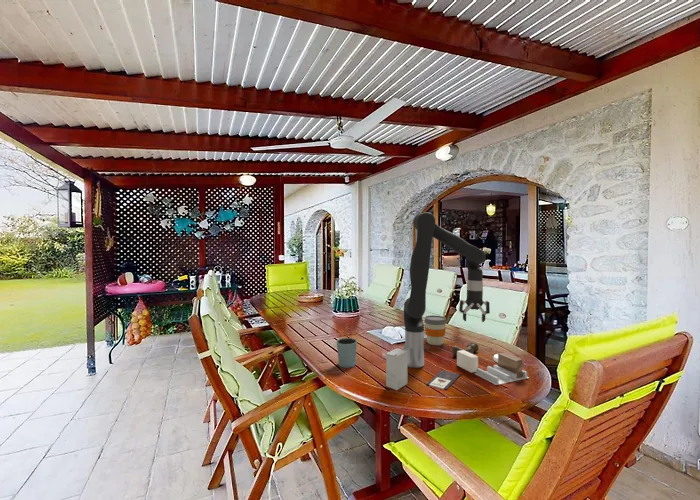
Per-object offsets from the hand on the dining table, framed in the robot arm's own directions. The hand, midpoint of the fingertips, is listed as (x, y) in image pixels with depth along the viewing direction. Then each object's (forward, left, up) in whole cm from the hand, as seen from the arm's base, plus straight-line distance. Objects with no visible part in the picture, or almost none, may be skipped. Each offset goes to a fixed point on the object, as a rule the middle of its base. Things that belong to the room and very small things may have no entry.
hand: (473, 321), depth 175 cm
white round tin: (+13, -7, -21) cm, 26 cm away
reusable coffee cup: (+1, +34, -21) cm, 40 cm away
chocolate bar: (-27, -12, -21) cm, 37 cm away
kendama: (+3, +9, -21) cm, 23 cm away
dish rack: (-2, -20, -21) cm, 29 cm away
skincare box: (-49, -9, -21) cm, 54 cm away
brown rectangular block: (+3, -20, -20) cm, 28 cm away
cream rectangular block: (-10, -7, -21) cm, 24 cm away
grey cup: (-60, +22, -21) cm, 67 cm away
